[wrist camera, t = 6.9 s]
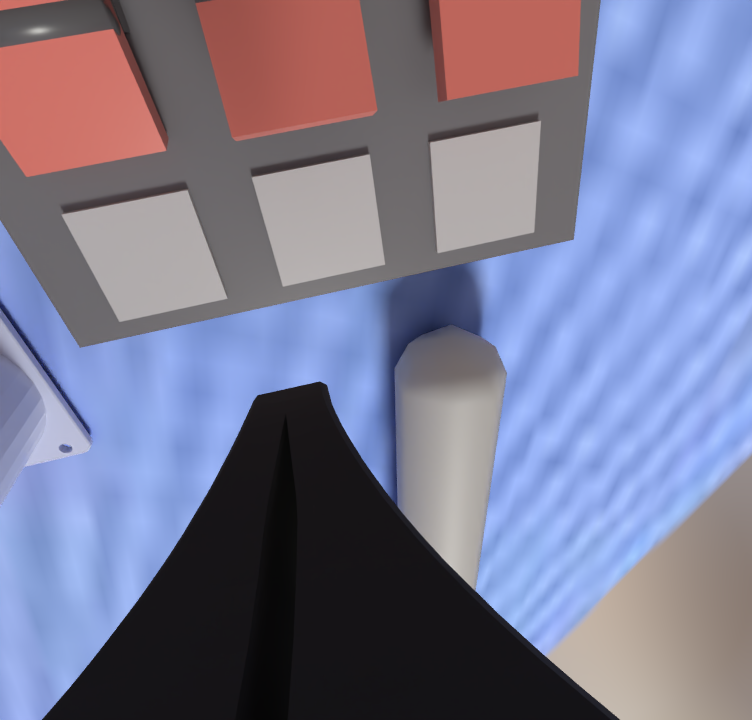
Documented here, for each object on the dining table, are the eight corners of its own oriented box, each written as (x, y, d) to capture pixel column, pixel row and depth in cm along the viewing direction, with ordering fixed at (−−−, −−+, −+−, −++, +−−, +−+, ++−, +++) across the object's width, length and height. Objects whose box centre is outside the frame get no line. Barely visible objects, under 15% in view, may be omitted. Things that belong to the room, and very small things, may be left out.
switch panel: (101, 313, 18) (73, 357, 15) (-147, -128, 11) (-276, -185, 8) (541, 219, 19) (583, 245, 16) (571, -223, 12) (651, -297, 10)
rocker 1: (35, 161, 12) (24, 180, 12) (-192, -179, 8) (-232, -181, 7) (168, 136, 13) (166, 154, 12) (24, -205, 8) (5, -210, 7)
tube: (379, 370, 17) (393, 671, 31) (527, 376, 16) (473, 682, 30) (394, 305, 22) (400, 594, 35) (510, 308, 21) (470, 602, 35)
